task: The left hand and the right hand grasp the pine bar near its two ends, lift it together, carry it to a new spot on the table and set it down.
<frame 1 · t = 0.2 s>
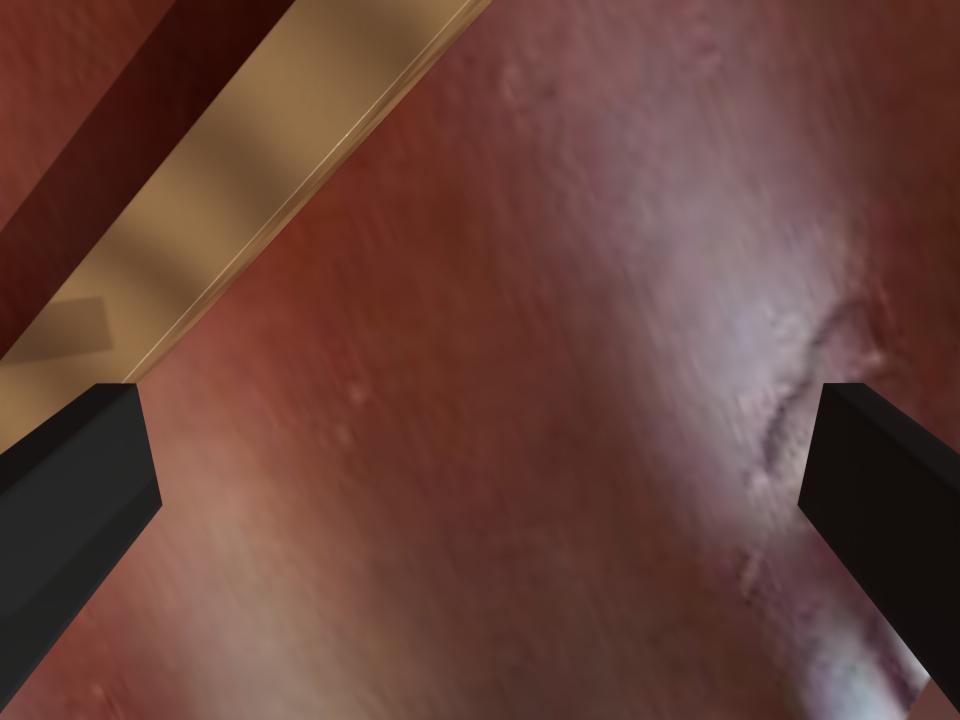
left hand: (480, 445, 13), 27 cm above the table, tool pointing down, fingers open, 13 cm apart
bar: (290, 151, 37), on the table
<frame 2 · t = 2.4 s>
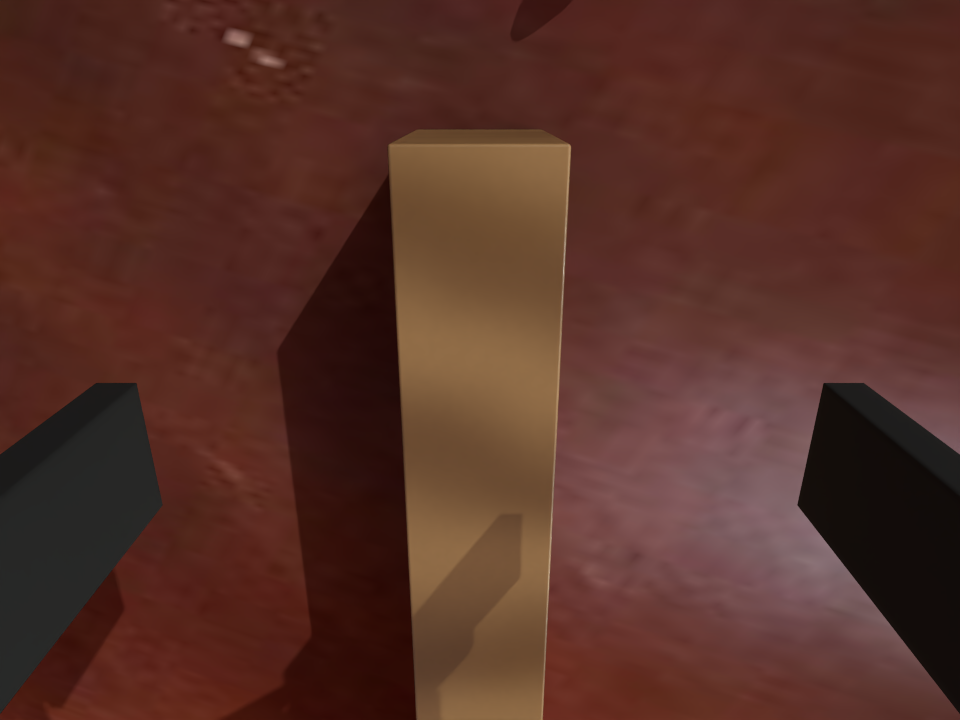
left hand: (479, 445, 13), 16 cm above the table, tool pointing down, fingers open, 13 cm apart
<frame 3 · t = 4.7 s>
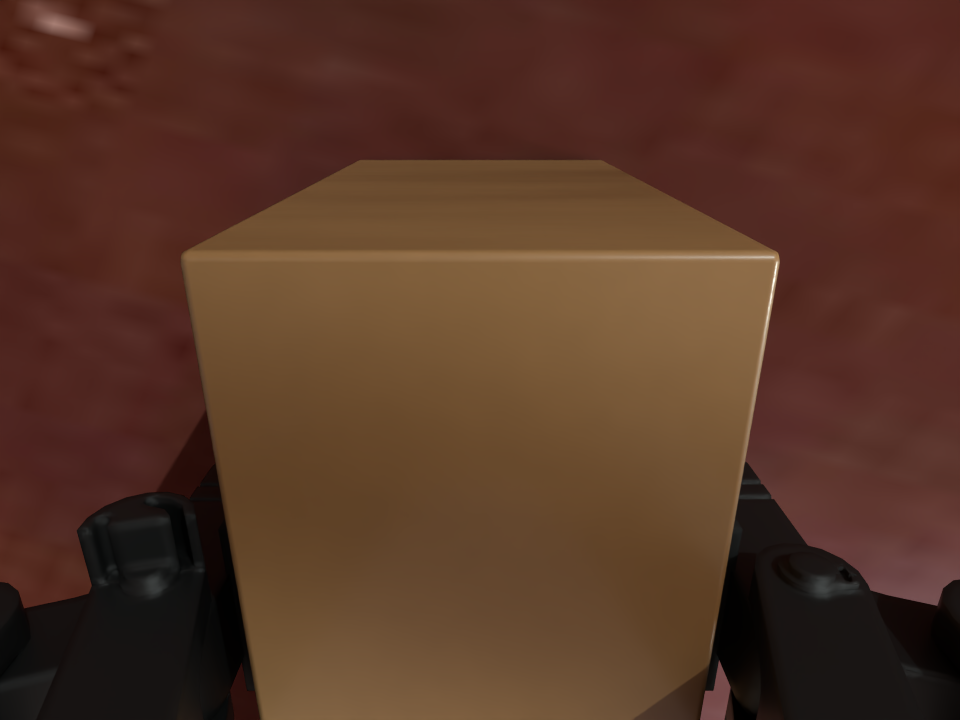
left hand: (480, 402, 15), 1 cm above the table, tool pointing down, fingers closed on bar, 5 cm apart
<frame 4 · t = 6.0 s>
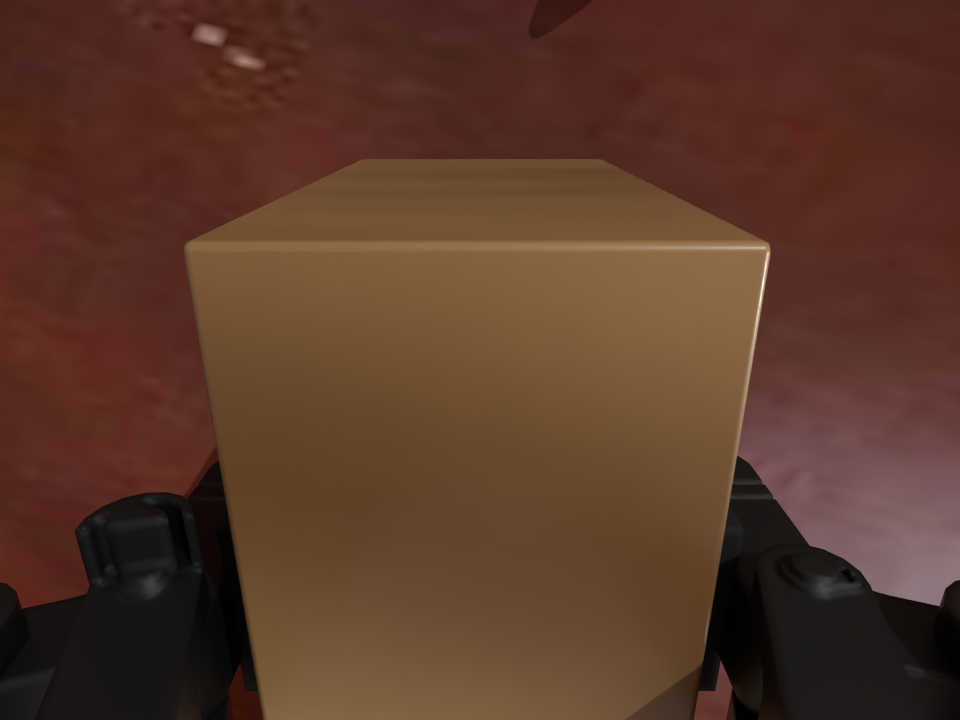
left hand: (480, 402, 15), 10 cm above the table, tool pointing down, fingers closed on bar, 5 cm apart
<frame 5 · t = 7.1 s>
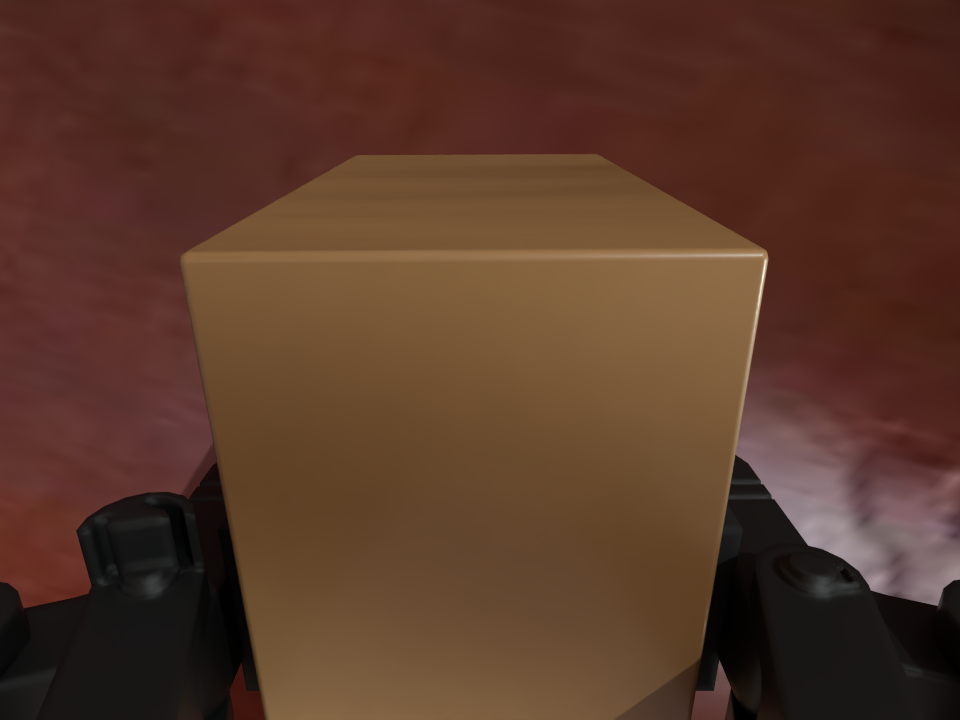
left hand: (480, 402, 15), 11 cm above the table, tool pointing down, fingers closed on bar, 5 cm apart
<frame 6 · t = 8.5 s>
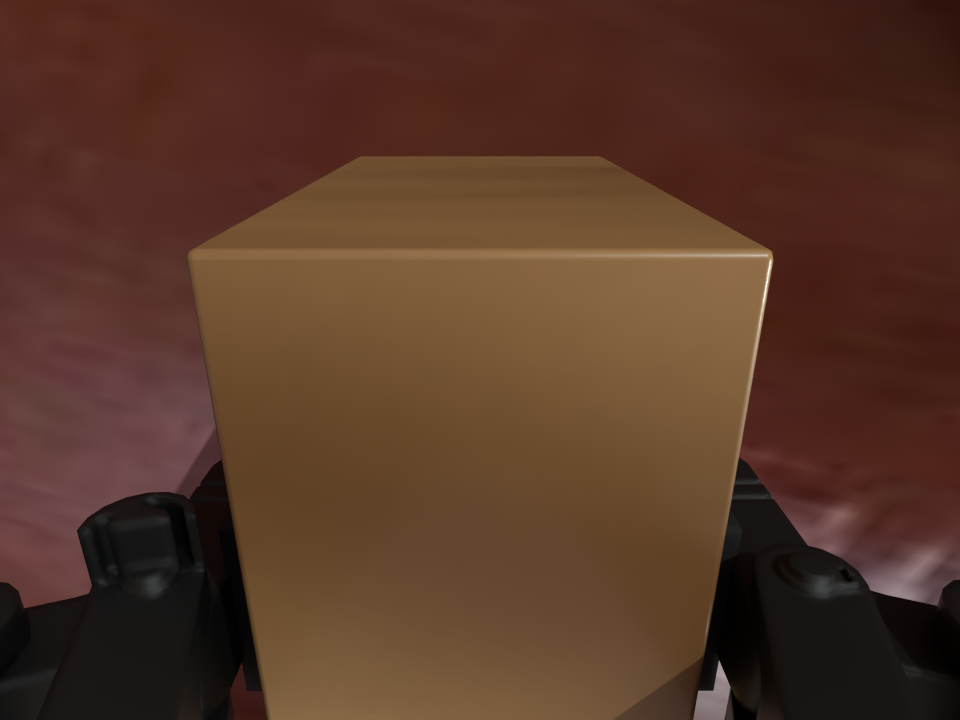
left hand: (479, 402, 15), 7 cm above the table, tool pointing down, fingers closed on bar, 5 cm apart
when the left hand's fingers open (2 cm above the table, at t = 9.6 s): bar stays where it is, on the table.
when the right hand's fingers open (5 cm above the table, at t = 9.8 s): bar stays where it is, on the table.
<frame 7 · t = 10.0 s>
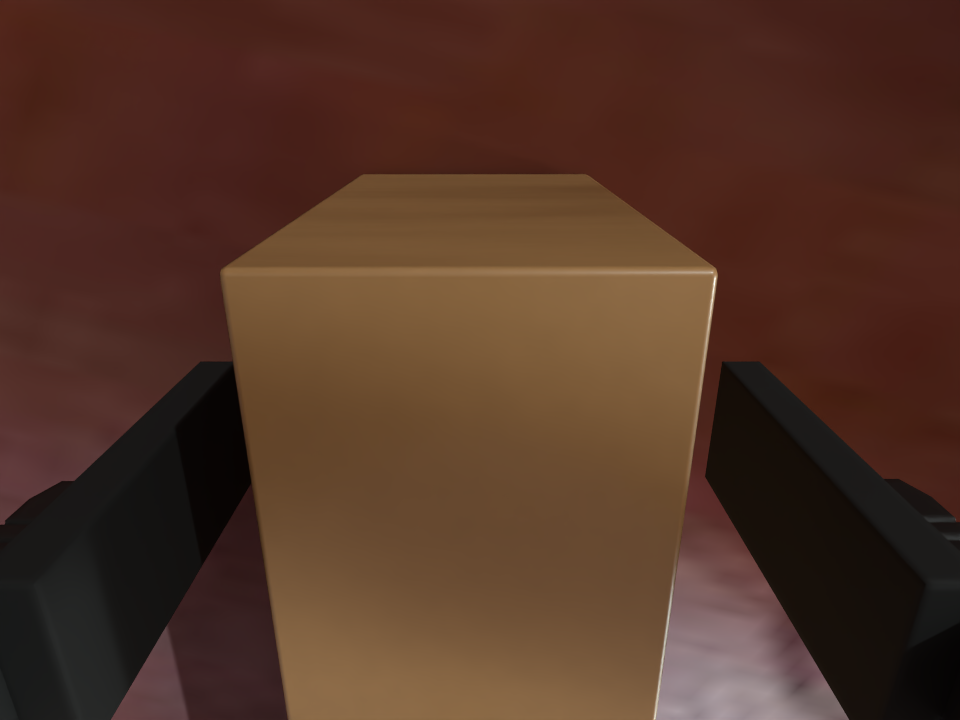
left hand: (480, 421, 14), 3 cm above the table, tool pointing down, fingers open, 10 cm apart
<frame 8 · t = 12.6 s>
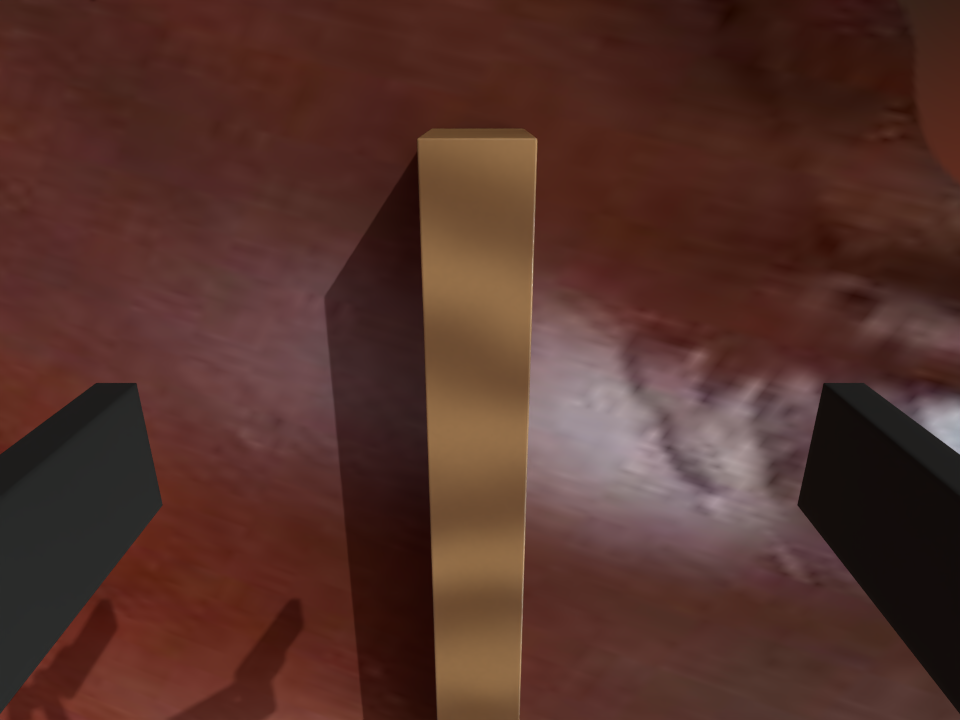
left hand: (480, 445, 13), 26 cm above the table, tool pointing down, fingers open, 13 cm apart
bar: (478, 613, 47), on the table
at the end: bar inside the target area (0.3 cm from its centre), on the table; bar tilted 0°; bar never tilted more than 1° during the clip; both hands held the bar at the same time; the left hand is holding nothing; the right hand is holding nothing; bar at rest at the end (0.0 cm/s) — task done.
